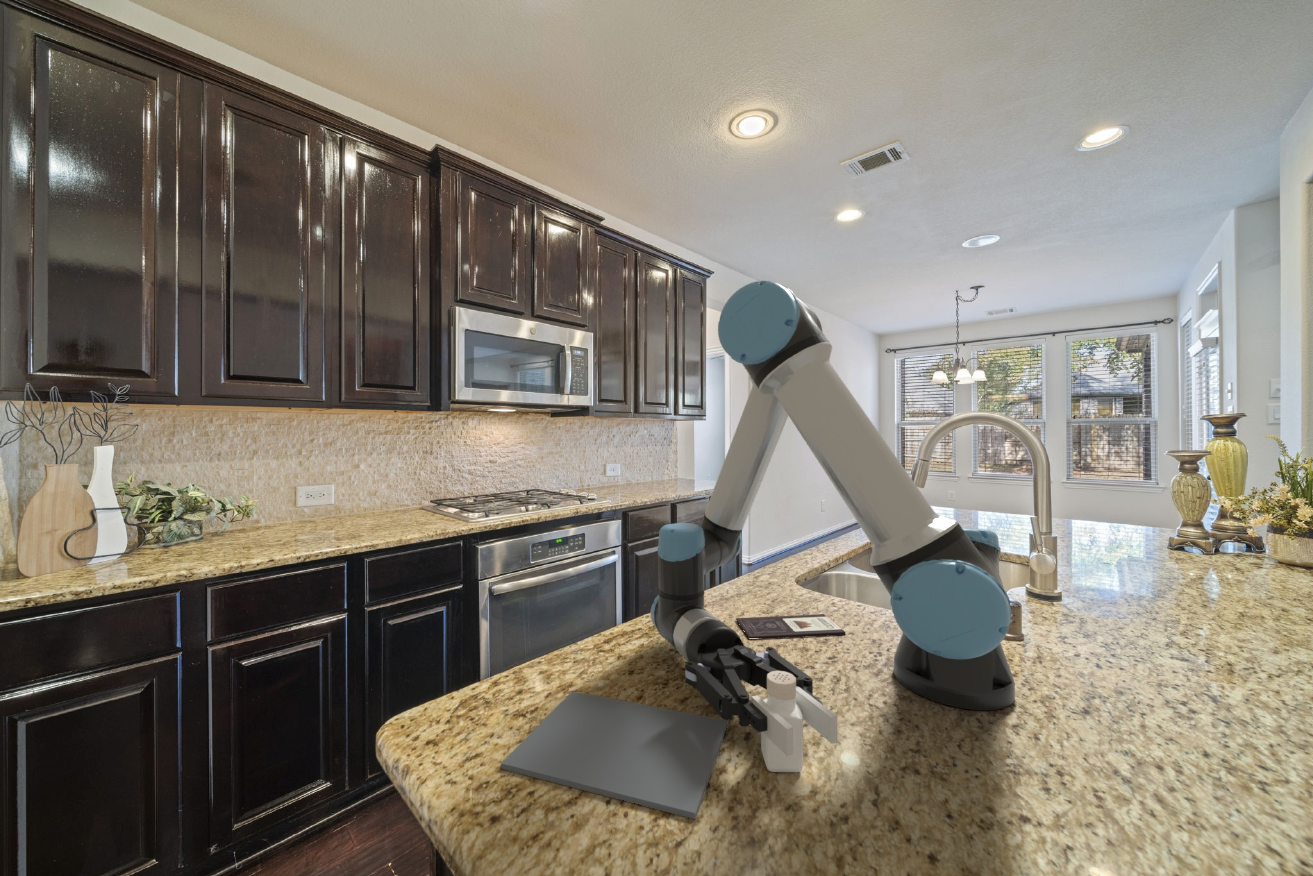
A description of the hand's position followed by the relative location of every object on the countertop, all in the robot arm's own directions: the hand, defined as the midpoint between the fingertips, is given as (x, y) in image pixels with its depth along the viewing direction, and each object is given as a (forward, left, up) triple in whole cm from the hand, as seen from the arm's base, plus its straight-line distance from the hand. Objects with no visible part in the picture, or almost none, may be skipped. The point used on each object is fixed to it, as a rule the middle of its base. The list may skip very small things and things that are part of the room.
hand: (812, 735), depth 50 cm
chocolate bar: (+5, -44, -7) cm, 45 cm away
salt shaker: (+3, -4, -6) cm, 8 cm away
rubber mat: (+21, -1, -6) cm, 22 cm away
